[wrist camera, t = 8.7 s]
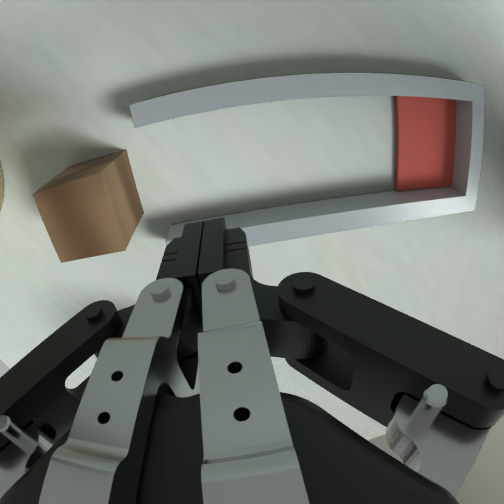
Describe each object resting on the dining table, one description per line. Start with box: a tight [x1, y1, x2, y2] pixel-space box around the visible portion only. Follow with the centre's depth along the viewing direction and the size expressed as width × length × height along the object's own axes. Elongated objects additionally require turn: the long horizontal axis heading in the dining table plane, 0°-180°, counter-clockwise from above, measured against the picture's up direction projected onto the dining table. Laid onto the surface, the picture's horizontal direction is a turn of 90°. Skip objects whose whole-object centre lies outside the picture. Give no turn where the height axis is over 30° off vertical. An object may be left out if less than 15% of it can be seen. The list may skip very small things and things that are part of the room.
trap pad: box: [395, 96, 456, 191], centre depth 21 cm, size 6×8×1 cm
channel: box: [129, 73, 485, 246], centre depth 20 cm, size 26×11×2 cm, turn 98°
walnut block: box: [33, 150, 144, 263], centre depth 19 cm, size 5×5×6 cm
